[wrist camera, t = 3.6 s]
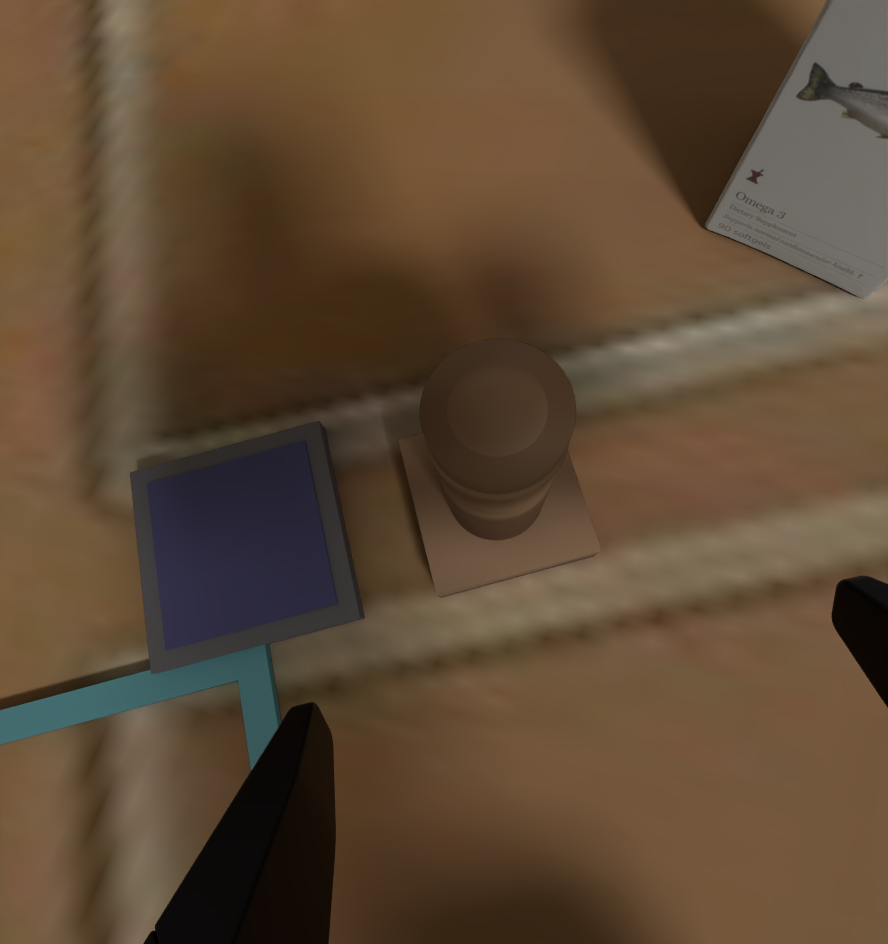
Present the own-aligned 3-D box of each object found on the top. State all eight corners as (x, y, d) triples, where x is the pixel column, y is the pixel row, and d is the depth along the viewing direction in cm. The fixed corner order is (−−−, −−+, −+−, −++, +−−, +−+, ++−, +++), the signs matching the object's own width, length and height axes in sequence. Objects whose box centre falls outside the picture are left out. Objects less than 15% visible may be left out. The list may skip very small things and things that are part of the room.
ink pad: (364, 617, 22) (359, 617, 21) (163, 672, 22) (149, 674, 21) (324, 427, 24) (318, 420, 23) (141, 477, 24) (128, 472, 23)
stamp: (593, 556, 21) (680, 495, 11) (440, 597, 22) (396, 572, 12) (545, 414, 23) (586, 252, 13) (404, 452, 23) (337, 321, 13)
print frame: (331, 1028, 18) (327, 1036, 18) (-38, 1124, 18) (-49, 1135, 18) (267, 638, 22) (263, 639, 21) (-42, 722, 22) (-52, 724, 21)
